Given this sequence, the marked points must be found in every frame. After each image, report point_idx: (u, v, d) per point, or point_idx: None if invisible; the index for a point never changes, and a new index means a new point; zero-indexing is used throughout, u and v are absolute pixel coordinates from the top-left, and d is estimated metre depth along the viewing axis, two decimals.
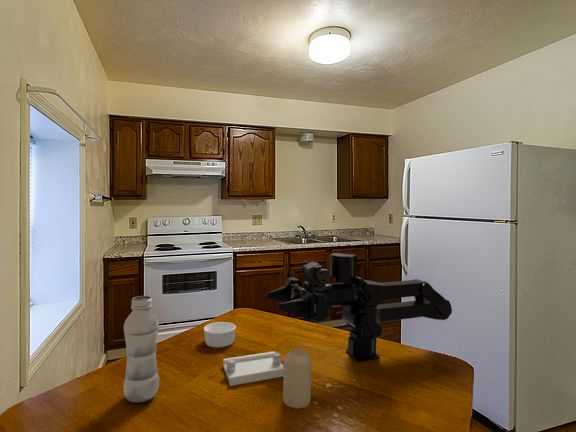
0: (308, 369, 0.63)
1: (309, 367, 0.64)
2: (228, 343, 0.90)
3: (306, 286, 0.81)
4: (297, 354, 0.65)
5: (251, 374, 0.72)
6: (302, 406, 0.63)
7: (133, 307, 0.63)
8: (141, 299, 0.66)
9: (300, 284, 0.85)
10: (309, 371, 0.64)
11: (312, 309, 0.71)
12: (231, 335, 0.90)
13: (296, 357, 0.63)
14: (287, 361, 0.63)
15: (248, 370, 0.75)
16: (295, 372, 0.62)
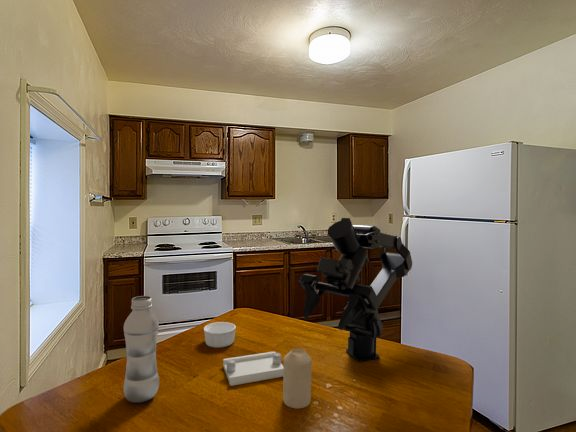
0: (308, 369, 0.63)
1: (309, 367, 0.64)
2: (228, 343, 0.90)
3: (329, 280, 0.75)
4: (297, 354, 0.65)
5: (251, 374, 0.72)
6: (302, 406, 0.63)
7: (133, 307, 0.63)
8: (141, 299, 0.66)
9: (316, 278, 0.78)
10: (309, 371, 0.64)
11: (366, 305, 0.69)
12: (231, 335, 0.90)
13: (296, 357, 0.63)
14: (287, 361, 0.63)
15: (248, 370, 0.75)
16: (295, 372, 0.62)
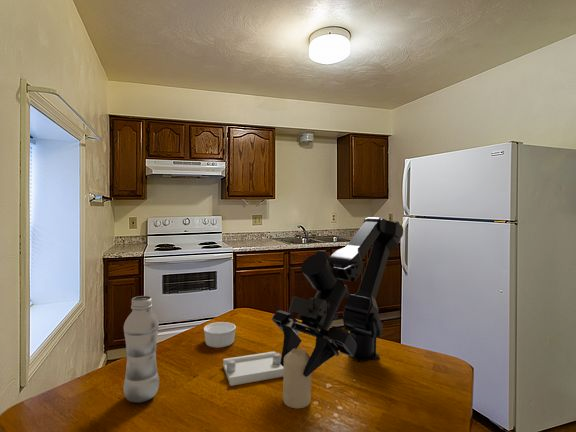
0: None
1: None
2: (228, 343, 0.90)
3: (303, 319, 0.69)
4: (297, 354, 0.65)
5: (251, 374, 0.72)
6: (302, 406, 0.63)
7: (133, 307, 0.63)
8: (141, 299, 0.66)
9: (290, 316, 0.71)
10: None
11: (334, 348, 0.63)
12: (231, 335, 0.90)
13: (296, 357, 0.63)
14: (287, 361, 0.63)
15: (248, 370, 0.75)
16: (295, 372, 0.62)
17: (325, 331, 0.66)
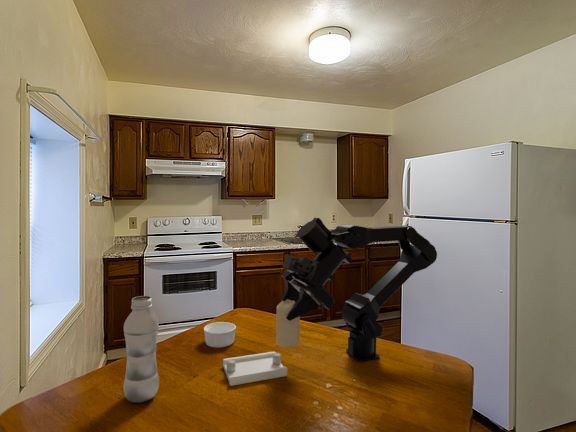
0: None
1: None
2: (228, 343, 0.90)
3: (299, 276, 0.80)
4: (288, 304, 0.77)
5: (251, 374, 0.72)
6: (286, 346, 0.75)
7: (133, 307, 0.63)
8: (141, 299, 0.66)
9: (294, 274, 0.83)
10: None
11: (314, 300, 0.72)
12: (231, 335, 0.90)
13: (284, 305, 0.76)
14: (277, 307, 0.76)
15: (248, 370, 0.75)
16: (281, 316, 0.75)
17: None
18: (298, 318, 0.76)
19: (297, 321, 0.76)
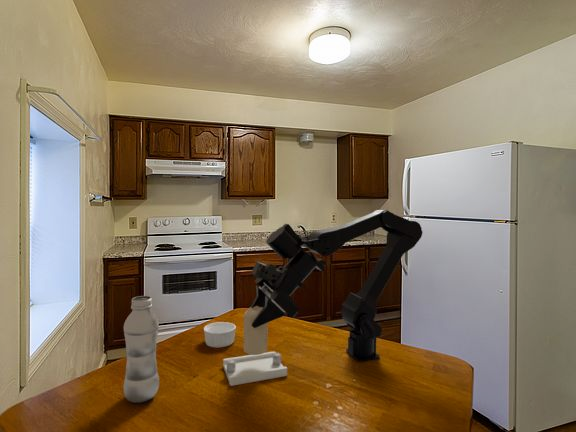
0: None
1: None
2: (228, 343, 0.90)
3: (269, 283, 0.79)
4: (256, 310, 0.77)
5: (251, 374, 0.72)
6: (252, 353, 0.74)
7: (133, 307, 0.63)
8: (141, 299, 0.66)
9: (266, 280, 0.83)
10: None
11: (278, 308, 0.71)
12: (231, 335, 0.90)
13: (250, 311, 0.75)
14: (244, 313, 0.76)
15: (248, 370, 0.75)
16: (247, 323, 0.74)
17: None
18: (265, 325, 0.75)
19: (263, 328, 0.75)
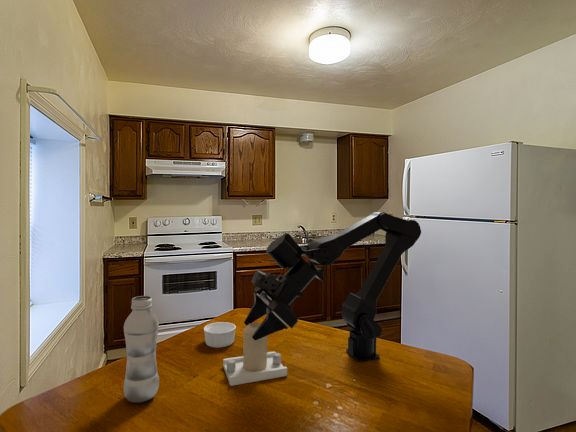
0: (258, 340, 0.74)
1: (260, 339, 0.74)
2: (228, 343, 0.90)
3: (269, 292, 0.79)
4: (256, 326, 0.77)
5: (251, 374, 0.72)
6: (252, 370, 0.74)
7: (133, 307, 0.63)
8: (141, 299, 0.66)
9: (266, 289, 0.83)
10: (259, 342, 0.74)
11: (280, 321, 0.70)
12: (231, 335, 0.90)
13: (250, 328, 0.75)
14: (244, 329, 0.76)
15: None
16: (247, 339, 0.75)
17: None
18: (264, 341, 0.75)
19: (263, 345, 0.75)
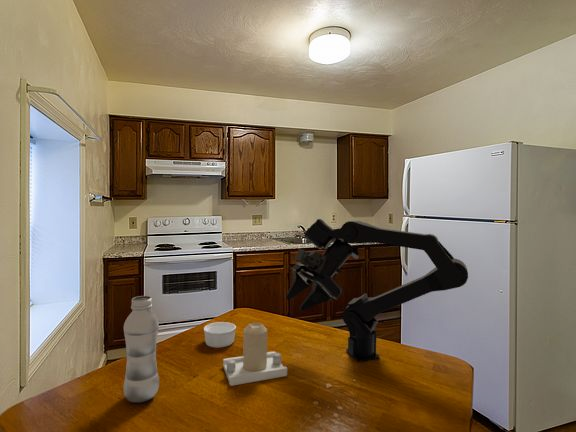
0: (258, 340, 0.74)
1: (260, 339, 0.74)
2: (228, 343, 0.90)
3: (309, 269, 0.87)
4: (256, 326, 0.77)
5: (251, 374, 0.72)
6: (252, 370, 0.74)
7: (133, 307, 0.63)
8: (141, 299, 0.66)
9: (304, 267, 0.91)
10: (259, 342, 0.74)
11: (326, 293, 0.78)
12: (231, 335, 0.90)
13: (250, 328, 0.75)
14: (244, 330, 0.76)
15: None
16: (247, 339, 0.74)
17: None
18: (264, 341, 0.75)
19: (263, 345, 0.75)
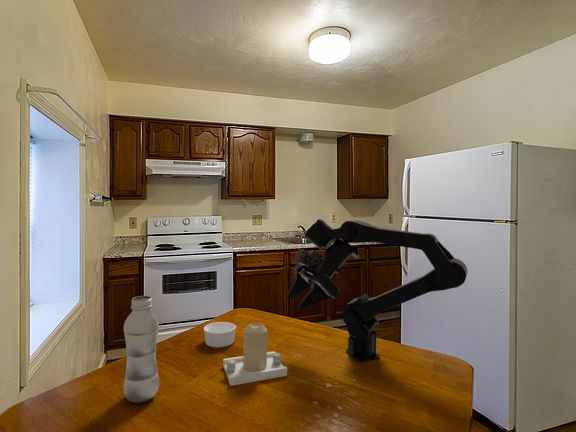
0: (258, 340, 0.74)
1: (260, 339, 0.74)
2: (228, 343, 0.90)
3: (309, 269, 0.88)
4: (256, 327, 0.77)
5: (251, 374, 0.72)
6: (252, 370, 0.74)
7: (133, 307, 0.63)
8: (141, 299, 0.66)
9: (305, 267, 0.92)
10: (259, 342, 0.74)
11: (324, 292, 0.79)
12: (231, 335, 0.90)
13: (250, 328, 0.75)
14: (244, 330, 0.76)
15: None
16: (247, 339, 0.74)
17: None
18: (264, 342, 0.75)
19: (263, 345, 0.75)
